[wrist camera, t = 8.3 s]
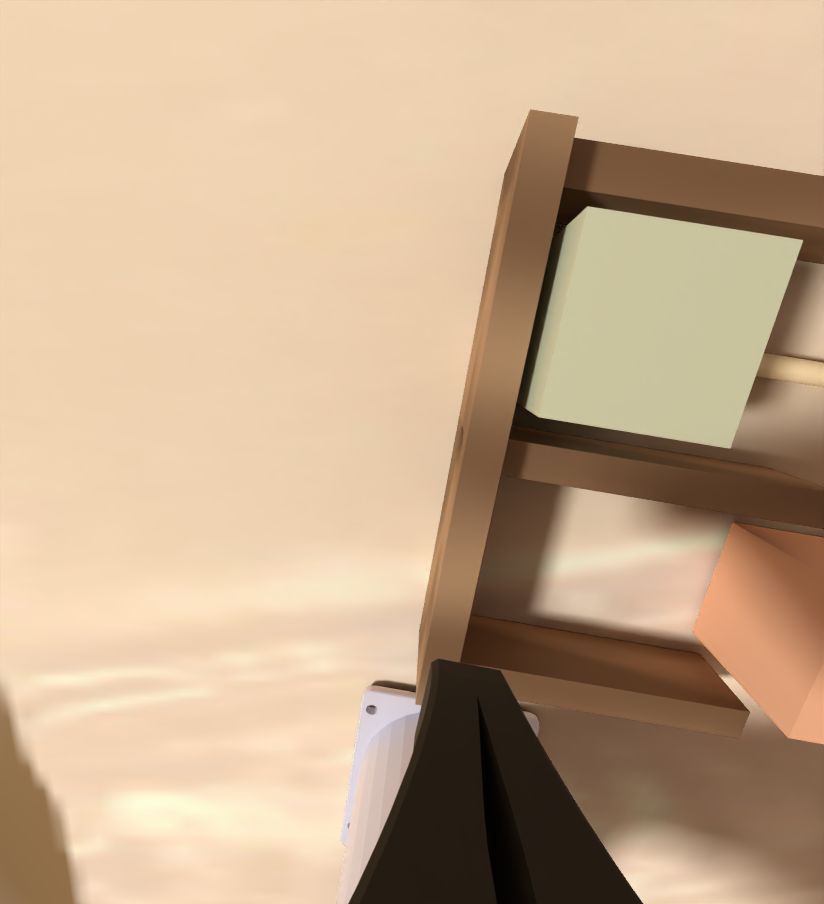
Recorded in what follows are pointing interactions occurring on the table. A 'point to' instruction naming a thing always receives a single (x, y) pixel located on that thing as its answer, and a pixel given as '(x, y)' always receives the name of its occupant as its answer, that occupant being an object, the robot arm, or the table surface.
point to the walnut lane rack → (588, 460)
